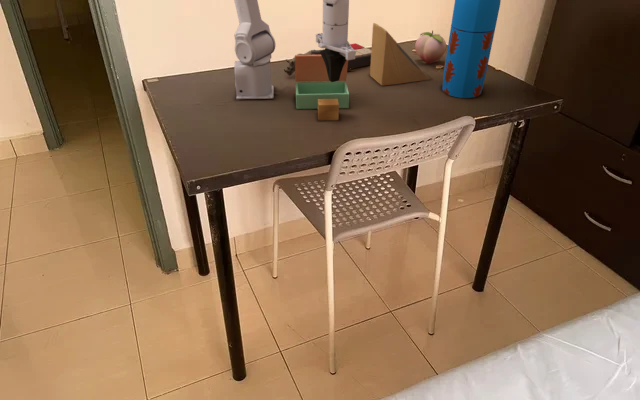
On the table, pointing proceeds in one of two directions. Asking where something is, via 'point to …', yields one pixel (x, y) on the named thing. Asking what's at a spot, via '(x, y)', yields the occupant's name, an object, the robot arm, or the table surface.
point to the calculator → (359, 57)
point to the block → (328, 109)
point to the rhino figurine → (293, 64)
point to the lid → (314, 68)
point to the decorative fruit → (430, 47)
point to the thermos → (469, 47)
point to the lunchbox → (320, 94)
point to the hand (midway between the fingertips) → (334, 80)
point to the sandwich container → (391, 60)
